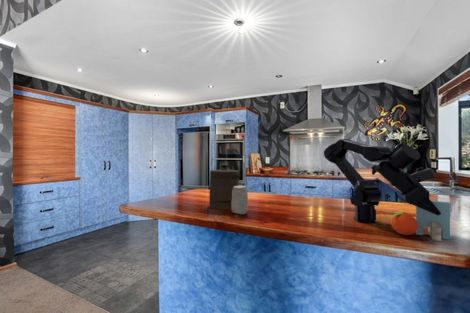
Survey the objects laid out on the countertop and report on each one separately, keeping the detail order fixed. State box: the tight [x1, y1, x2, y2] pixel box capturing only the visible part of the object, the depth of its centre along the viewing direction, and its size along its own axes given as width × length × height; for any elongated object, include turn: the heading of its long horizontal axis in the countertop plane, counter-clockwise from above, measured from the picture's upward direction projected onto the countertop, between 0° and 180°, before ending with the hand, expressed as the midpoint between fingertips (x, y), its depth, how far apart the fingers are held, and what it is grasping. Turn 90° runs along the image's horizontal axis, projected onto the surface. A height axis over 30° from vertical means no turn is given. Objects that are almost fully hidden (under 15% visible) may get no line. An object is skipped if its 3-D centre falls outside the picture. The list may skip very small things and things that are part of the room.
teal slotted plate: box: [415, 200, 451, 240], centre depth 73 cm, size 8×2×11 cm, turn 55°
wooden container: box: [208, 162, 240, 210], centre depth 115 cm, size 15×15×22 cm
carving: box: [231, 185, 249, 215], centre depth 100 cm, size 6×8×12 cm
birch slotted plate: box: [427, 221, 442, 242], centre depth 72 cm, size 2×10×5 cm, turn 145°
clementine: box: [390, 212, 418, 236], centre depth 74 cm, size 8×7×7 cm
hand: (438, 212), depth 72 cm, fingers open, 6 cm apart
